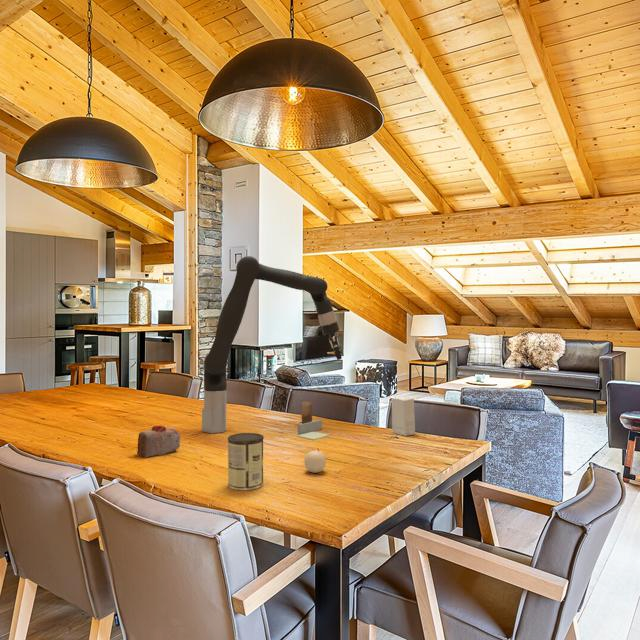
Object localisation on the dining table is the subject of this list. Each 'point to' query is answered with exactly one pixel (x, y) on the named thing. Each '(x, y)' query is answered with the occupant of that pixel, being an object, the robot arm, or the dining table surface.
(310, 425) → the wall
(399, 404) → the skincare box
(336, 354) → the robot arm
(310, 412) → the pin
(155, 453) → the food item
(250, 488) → the coffee can
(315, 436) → the mat
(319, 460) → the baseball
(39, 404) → the dining table surface
